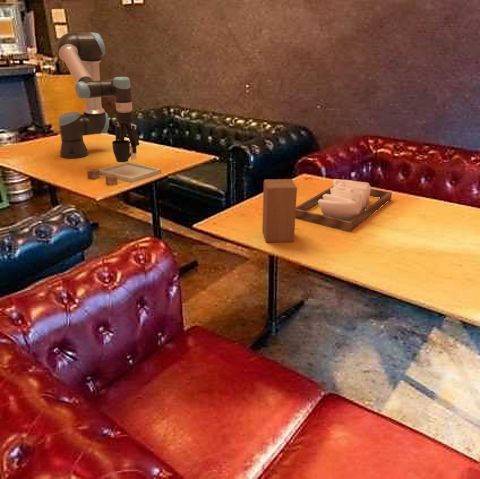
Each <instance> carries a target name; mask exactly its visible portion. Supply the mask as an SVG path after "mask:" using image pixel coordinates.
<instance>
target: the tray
mask: <svg viewBox="0 0 480 479" xmlns="http://www.w3.org/2000/svg"><path fill="white" fill-rule="evenodd" d="M98 170H99V174H100V176H101V175H102V176H105V175H112V174H114V175H115V176H117V180H121V181H125V182H129V183H134V182H138V181H140V180H143V179H147V178H151V177H153V176H156V175H159V174H162V169H161V168H157V167H153V166H150V165H149V166H148V165H145V164H141V163H136V162H131V161H127V162H120V163H118V164H113V165H111V166H107V167H103V168H100V169H98Z"/></svg>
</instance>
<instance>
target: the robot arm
mask: <svg viewBox="0 0 480 479" xmlns="http://www.w3.org/2000/svg"><path fill="white" fill-rule="evenodd" d="M56 51H57V52H56V53H57V55H58V57H59V58H60V59H61V60H62V61H63V62H64V63H65V66H66V67H67V69H68V71H69V72H70V74H71V76H72V77H73V79H74V81H75V84H74V89H75V93H76V96H77V97H78V98H79V99H85V100H84V102H85V107H84V109H83V110H82V111H83V113H80V111H70V112H65V113H63V114H60V115H59V116H58V126H59V132H60V139H61V145H60V150H59V156H60V157H61V158H64V159H79V158H85V157H87V156H88V155H89V150H88V148H87V146H86V143H85V141H84V136H92V135H101V134H106V133H107V132H108V130H109V127H110V118H109V115H108V113H107V112H106V111H105V109H104V107H103V106H102V98H107V97H109V98H110V97H114V99H115V100H114V101H115V110H116V119H117V122H114V123H113V124H114V127H115V128H114V129H115V130H114V131H115V132H114V133H115V141H116V140H125V138H126V134H127V136H128V141H130V152H131V157H130V160H131V161H135V160H137V158H138V157H137V153H138V152H137V147H138V146H140V142H139V140H140V138H139V132H138V125H137V124H134V123H133V119H134V113H133V104H132V103H133V101H132V88H131V86H132V85H131V80H130V78H129V77H128V76H116V77H114V78H109V79H108V80H107V79H105V80H104V79H103V80H101V76H100V75H101V74H100V63H101V61H102V59H103V58H102V57H104V56H105V55H106V47H105V43H104V40H103V38H102V36H101V35H100V33H97V32H90V31H88V32H87V31H86V32H82V31H80V32H67V33H65V34H63V35H62V36H61V37H60V38H59V39H58V41H57V44H56ZM133 143H134V144H133Z"/></svg>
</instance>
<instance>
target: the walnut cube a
mask: <svg viewBox="0 0 480 479" xmlns="http://www.w3.org/2000/svg"><path fill="white" fill-rule="evenodd" d="M86 174H87V179H88V180H97V179H100V178H101V174H99V169H96V168H95V169H94V168H90V169H89V170H87V171H86Z"/></svg>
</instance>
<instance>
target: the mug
mask: <svg viewBox="0 0 480 479" xmlns="http://www.w3.org/2000/svg"><path fill="white" fill-rule="evenodd" d="M111 144H112V151H113V154H114V158H115V160H116V162H117V163H125V162H129V159H131V150H130V146H131V143H130V140H129V139H128V140H127V139H124V140H119V139H118V140H116V139H115V140H113V141H112V142H111ZM133 144H134V143H133Z"/></svg>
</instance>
